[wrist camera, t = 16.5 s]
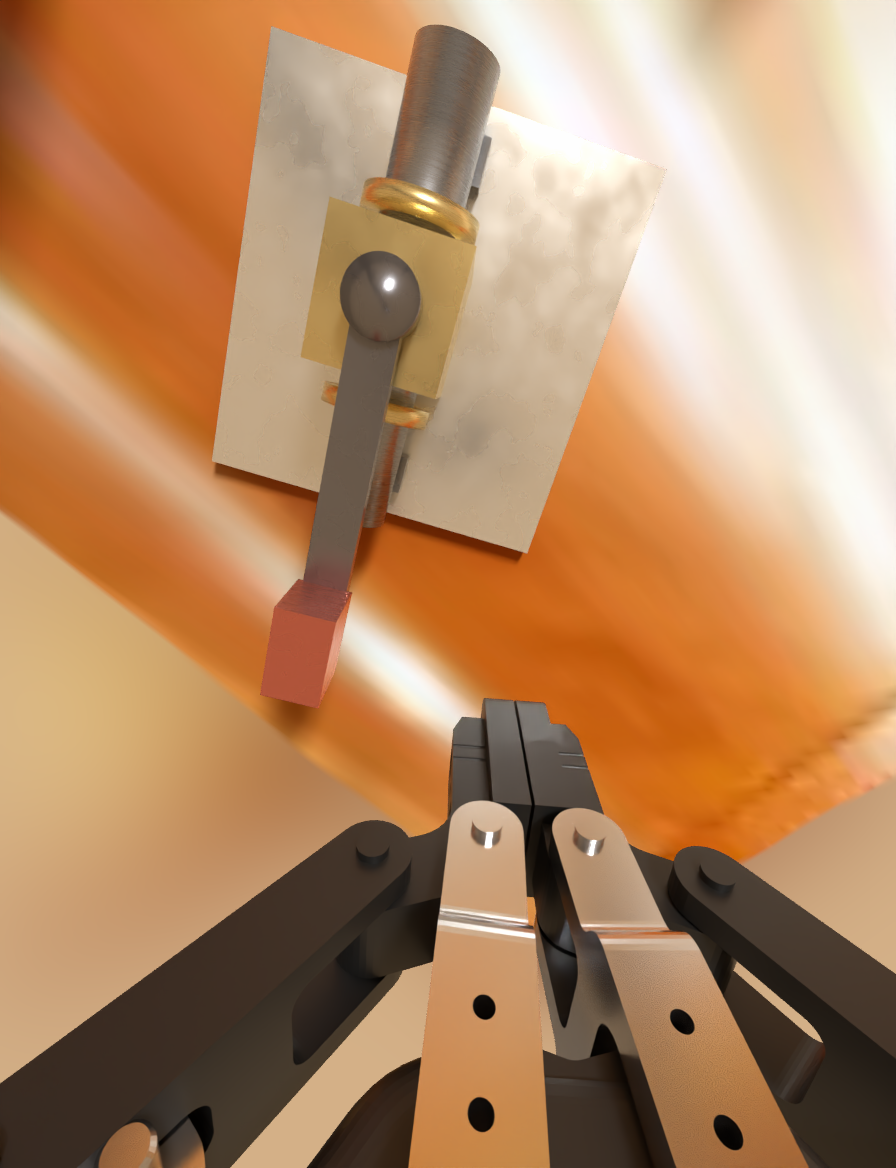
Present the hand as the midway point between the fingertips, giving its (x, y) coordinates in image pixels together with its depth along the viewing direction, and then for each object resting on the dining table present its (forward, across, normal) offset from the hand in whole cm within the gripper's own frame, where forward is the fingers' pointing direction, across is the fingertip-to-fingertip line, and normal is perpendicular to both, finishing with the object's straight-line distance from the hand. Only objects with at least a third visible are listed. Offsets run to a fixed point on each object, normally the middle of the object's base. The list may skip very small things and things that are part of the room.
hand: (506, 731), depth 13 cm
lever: (+17, +7, -3) cm, 19 cm away
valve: (+27, +6, -11) cm, 30 cm away
